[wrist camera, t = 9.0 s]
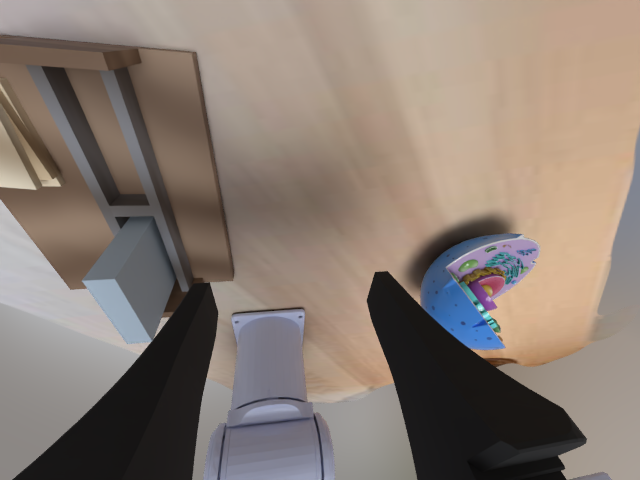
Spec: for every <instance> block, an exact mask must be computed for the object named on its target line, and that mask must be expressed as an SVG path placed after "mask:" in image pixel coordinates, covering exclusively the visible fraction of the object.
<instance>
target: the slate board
mask: <svg viewBox="0 0 640 480" xmlns="http://www.w3.org/2000/svg"><path fill="white" fill-rule="evenodd" d="M176 278H177V277H176V274H175V271H174V269H173V266H172V263H171V261H170V258H169V255H168V253H167V250H166V247H165V245H164V242H163V239H162V237H161V234H160V231H159V229H158V226H157V223H156V221H155V218H154V216H134V217H130V218H129V219H128V221H127V222H126V223H125V224H124V226H123V227H122V228H121V230H120V231H119V232H118V234H117V235H116V236H115V238H114V239H113V240H112V242H111V243H110V244H109V246H108V247H107V248H106V250H105V251H104V252H103V253H102V255H101V256H100V257H99V259H98V260H97V261H96V263H95V264H94V265H93V267H92V268H91V269H90V271H89V272H88V273H87V275H86V276H85V277H84V279H83V280H82V282H83V283H84V285H85V286H86V287H87V289H88V290H89V292H90V293H91V294H92V296H93V297H94V299H95V300H96V301H97V303H98V304H99V306H100V307H101V308H102V310H103V311H104V313H105V314H106V315H107V317H108V318H109V320H110V321H111V322H112V324H113V325H114V327H115V328H116V329H117V331H118V332H119V333H120V335H121V336H122V338H123V339H124V340H125V342H126V343H127V344H133V343H144V342H152V341H153V339H154V336H155V333H156V331H157V328H158V325H159V323H160V320H161V318H162V315H163V312H164V310H165V307H166V304H167V302H168V299H169V296H170V294H171V291H172V289H173V286H174V283H175V281H176Z"/></svg>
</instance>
